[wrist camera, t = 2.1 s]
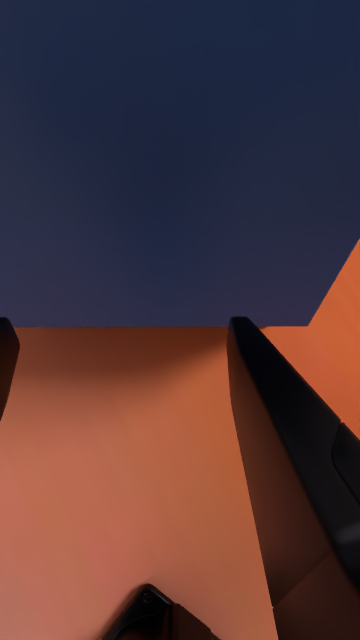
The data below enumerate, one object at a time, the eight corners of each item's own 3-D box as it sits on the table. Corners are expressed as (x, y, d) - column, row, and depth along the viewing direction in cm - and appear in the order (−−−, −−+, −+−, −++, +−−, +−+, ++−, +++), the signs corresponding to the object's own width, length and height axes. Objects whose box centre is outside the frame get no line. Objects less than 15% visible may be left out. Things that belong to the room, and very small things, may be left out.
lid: (-374, -112, 5) (-416, -104, 5) (538, -111, 5) (565, -105, 5) (-13, 315, 16) (-17, 328, 15) (304, 313, 16) (307, 327, 15)
